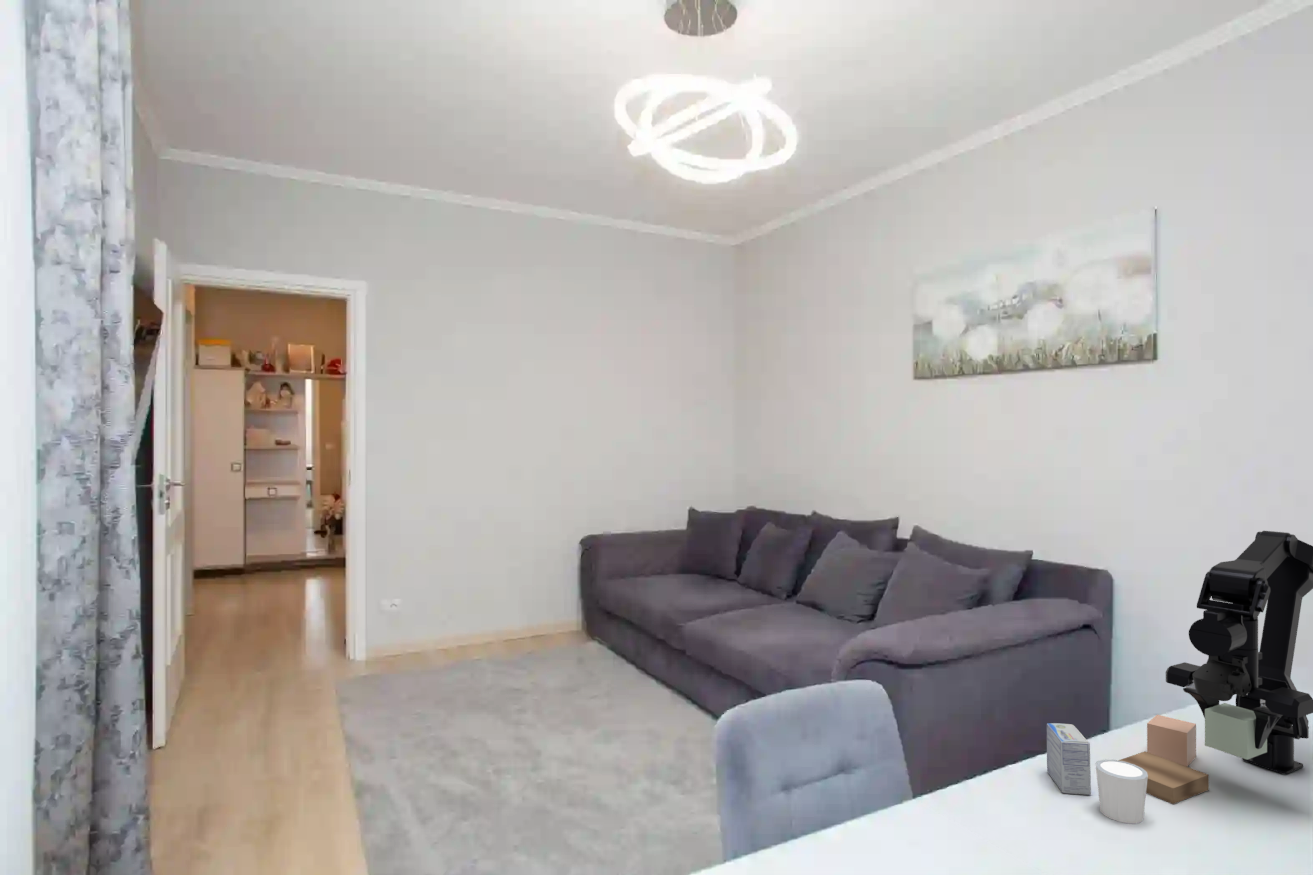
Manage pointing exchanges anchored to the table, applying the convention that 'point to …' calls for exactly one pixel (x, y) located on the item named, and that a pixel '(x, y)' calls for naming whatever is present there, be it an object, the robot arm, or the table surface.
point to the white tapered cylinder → (1121, 790)
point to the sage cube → (1232, 731)
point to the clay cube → (1172, 739)
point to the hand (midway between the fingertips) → (1235, 740)
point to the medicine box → (1068, 759)
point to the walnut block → (1169, 778)
